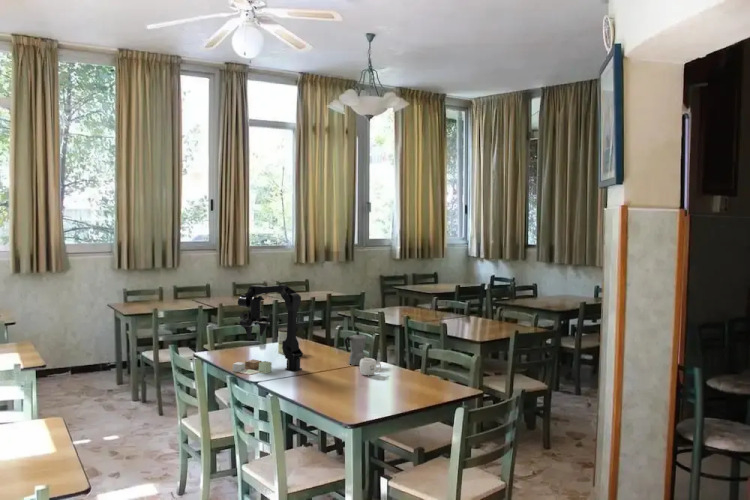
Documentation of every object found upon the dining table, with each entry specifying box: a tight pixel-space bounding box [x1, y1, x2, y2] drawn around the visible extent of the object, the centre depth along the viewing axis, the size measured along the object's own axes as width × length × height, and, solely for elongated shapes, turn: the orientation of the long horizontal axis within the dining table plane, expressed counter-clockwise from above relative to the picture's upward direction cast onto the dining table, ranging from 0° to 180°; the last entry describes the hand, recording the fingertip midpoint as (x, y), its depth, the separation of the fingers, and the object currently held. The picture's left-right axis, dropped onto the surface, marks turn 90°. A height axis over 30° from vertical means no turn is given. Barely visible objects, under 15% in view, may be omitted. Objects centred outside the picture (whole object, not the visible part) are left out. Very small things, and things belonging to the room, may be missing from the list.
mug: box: [359, 357, 382, 376], centre depth 330 cm, size 12×8×8 cm
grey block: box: [232, 361, 246, 373], centre depth 330 cm, size 4×4×4 cm
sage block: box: [258, 360, 273, 374], centre depth 329 cm, size 4×4×5 cm
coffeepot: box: [343, 331, 368, 366], centre depth 352 cm, size 15×9×18 cm, turn 129°
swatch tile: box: [239, 369, 261, 376], centre depth 327 cm, size 7×7×1 cm
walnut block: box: [244, 358, 263, 371], centre depth 336 cm, size 6×6×4 cm
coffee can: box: [277, 326, 287, 355], centre depth 377 cm, size 10×10×14 cm
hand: (255, 337), depth 348 cm, fingers open, 9 cm apart
